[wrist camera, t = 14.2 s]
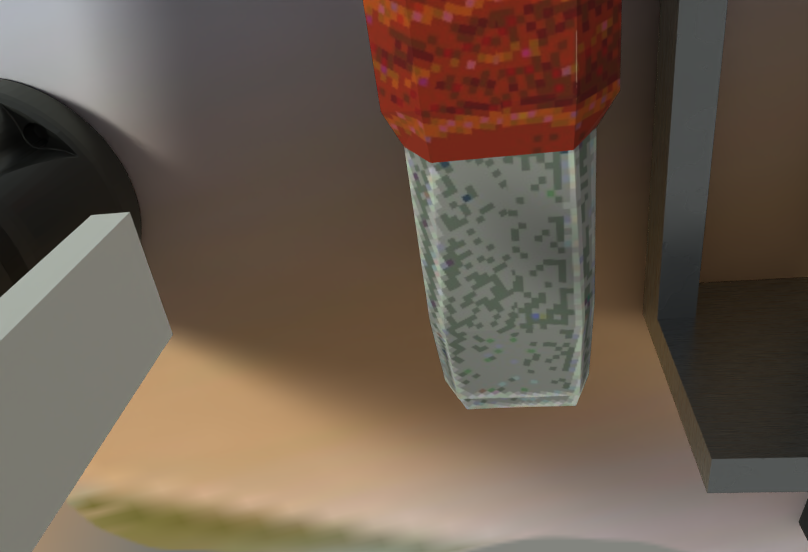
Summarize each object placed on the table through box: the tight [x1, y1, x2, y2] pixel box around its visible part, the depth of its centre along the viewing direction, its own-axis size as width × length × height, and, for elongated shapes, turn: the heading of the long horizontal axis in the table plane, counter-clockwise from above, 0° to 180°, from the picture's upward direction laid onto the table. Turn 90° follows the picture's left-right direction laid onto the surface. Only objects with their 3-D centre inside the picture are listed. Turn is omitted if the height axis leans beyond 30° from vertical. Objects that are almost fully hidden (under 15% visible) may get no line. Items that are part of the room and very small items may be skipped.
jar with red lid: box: [363, 0, 622, 409], centre depth 26 cm, size 19×6×30 cm
